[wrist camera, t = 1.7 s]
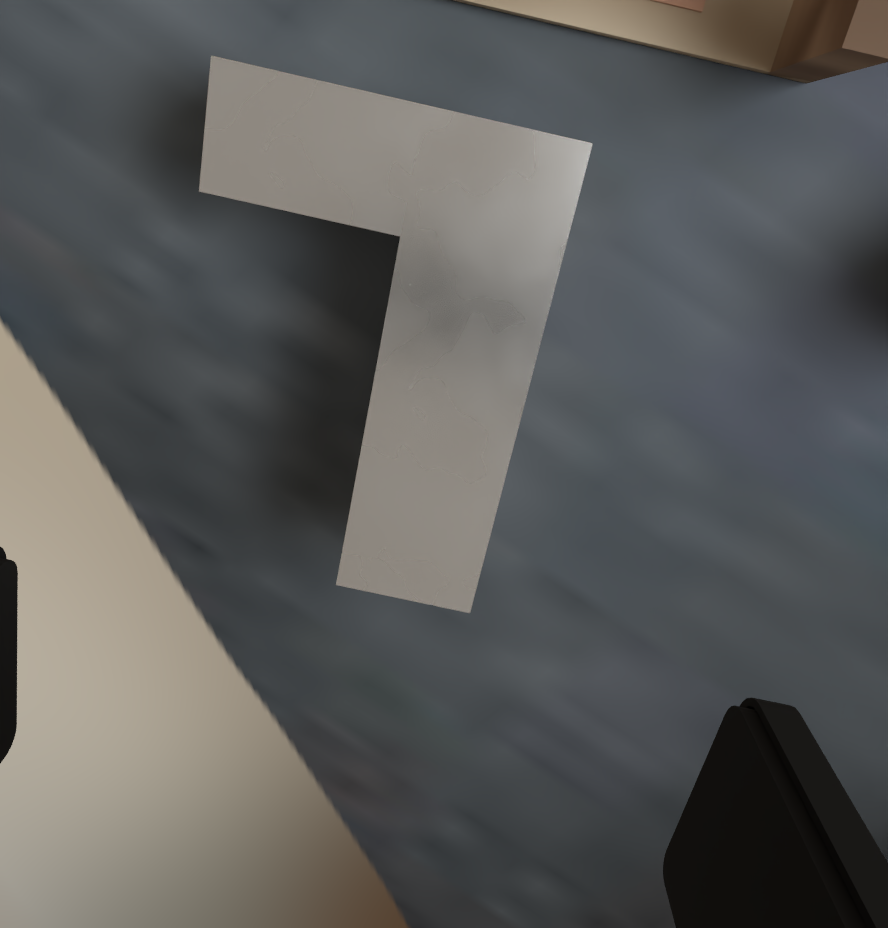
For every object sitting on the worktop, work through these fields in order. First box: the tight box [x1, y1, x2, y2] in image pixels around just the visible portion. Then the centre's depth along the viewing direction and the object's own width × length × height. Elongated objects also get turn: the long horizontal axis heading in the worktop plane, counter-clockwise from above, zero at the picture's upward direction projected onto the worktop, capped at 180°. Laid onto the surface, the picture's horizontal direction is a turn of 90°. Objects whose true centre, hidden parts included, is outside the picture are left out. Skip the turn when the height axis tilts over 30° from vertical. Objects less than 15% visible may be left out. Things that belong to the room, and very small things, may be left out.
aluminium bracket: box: [199, 56, 593, 613], centre depth 22 cm, size 13×9×5 cm
